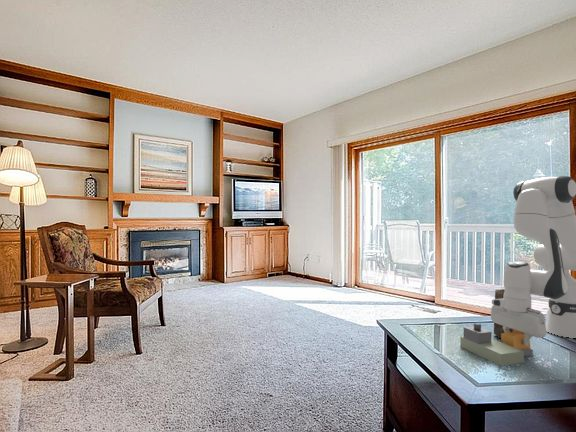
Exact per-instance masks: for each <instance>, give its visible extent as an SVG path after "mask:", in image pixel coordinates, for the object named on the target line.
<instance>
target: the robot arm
mask: <svg viewBox="0 0 576 432" xmlns="http://www.w3.org/2000/svg"><path fill="white" fill-rule="evenodd" d="M575 197H576V181H575V179H574V178H573V177H571V176H568V175H567V176H566V175H559V176H545V177H541V178H535V179H531V180H523V181H520V182H518V183H517V184H515V186H514V188H513V198H514V200H515V201H516V203H515V208H514V215H513V227H514V229H515V231H516V232H517V233H518V234H519V235H521V236H522V237H524V238H527V239H529V240H531V241H533V242H537V243H539V245H537V246H536V247H535V249H534V250H533V259H534V261H535V262H536V263H537V264H538V266H540V267H541V268H542V269H543V270H541V269H539V270H538V269H531V267H530V266H531V265H530V264H529V263H528V262H526V261H523V260H522V261H521V260H512V261H508V262H507V263H505V267H504V271H503V272H504V274H503V287H504V289H505V292H504V295H503V298H501V299H495V298H494V299H492V300H491V304H492V305H491V310H490V319H491V321H492V322H493V324H494V323H497V324H500V325H502V326H503V330H504V332H505V333H509V332H510V331H509V329H510V328H511V329H514V330H517V331H520V332H523V333H524V336H526V337H525V338H524V339H522V342H521V343H522V344H523V345H529V340H531V338H533V337H535V338H537V339H538V338H539V339H540V338H545V337H546V336H547V333H548V332H549V334H551V333H552V334H551V335H554V334H555V335H554V336H557V335H558V337H561V336H563V338H566V337H569V338H568V339H573V338H576V278H574V277H573V276H572V274H571V273H570V271H574V272H576V210H575V206H574V204H573V201H574V199H575ZM532 295H533V296H539V297H544V298H548V304H547V305H548V310H546V317H545V315H544V313H542V311H541V310H537V309H533V308H532Z"/></svg>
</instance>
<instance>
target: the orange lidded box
mask: <svg viewBox="0 0 576 432" xmlns="http://www.w3.org/2000/svg"><path fill="white" fill-rule="evenodd" d="M525 337H526V336H524V333H523V332H520V331H517V330H514V329H513V332H509V333H501V341H500V342H502V343H504V344H507V345H509V346H512V347H514V348H517V349H519V350H520V349H528V348H530V349H532V347H531V341H530V340H531V339H530V340H529V345H523V344H522V343H521V342H522V339H524V338H525Z"/></svg>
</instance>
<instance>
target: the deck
mask: <svg viewBox="0 0 576 432" xmlns="http://www.w3.org/2000/svg"><path fill="white" fill-rule="evenodd" d="M460 348H462V349H464V350H466V351H468V352H471V353H472V354H475V355H477V356H479V357H481V358H483V359H485V360H487V361H489V362H491V363H493V364H496V365H498V366H500V367H503V366H511V365H519V364H524V363H525V361H524V357H528V356H533V355H534V349H533V348H528V349H520V350H519V349H517V348H514V347H512V346H509V345H507V344H504V343H502V341H499V340H496V339H494V338H493V337H492V331H490V330H488V329H486V328H482V324H481V323H478V322H477V323H475V322H474V323H473V326H463V335H462V336H460Z"/></svg>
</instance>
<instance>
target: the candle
mask: <svg viewBox="0 0 576 432" xmlns="http://www.w3.org/2000/svg"><path fill="white" fill-rule="evenodd" d="M504 292H505V288H504V289H495V291H494V299H501V298H503V295H504ZM509 331H510V332H513V329H511V328H510V329H509ZM501 333H505V332H504V330H503V326H502V325H500V324H497V323H494V322H493V335H495V336H496V337H498V338H501Z"/></svg>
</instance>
